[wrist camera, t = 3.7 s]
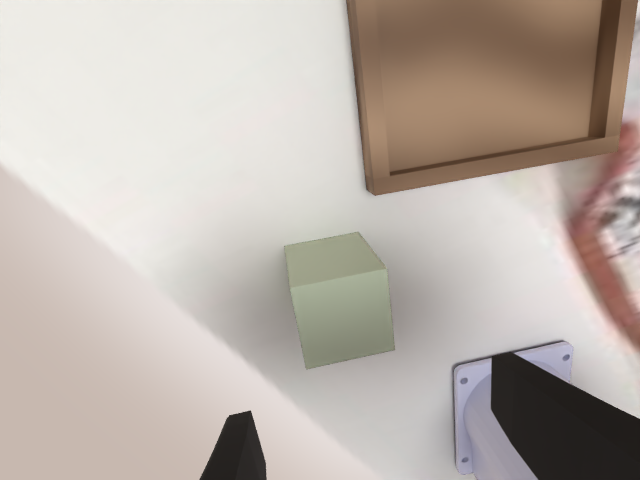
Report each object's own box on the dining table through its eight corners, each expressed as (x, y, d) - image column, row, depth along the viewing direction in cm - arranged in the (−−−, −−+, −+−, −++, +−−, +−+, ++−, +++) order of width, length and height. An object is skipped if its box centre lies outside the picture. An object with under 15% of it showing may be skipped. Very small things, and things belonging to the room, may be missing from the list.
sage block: (365, 296, 20) (394, 349, 16) (297, 311, 20) (306, 369, 15) (358, 231, 19) (386, 268, 14) (284, 245, 19) (289, 288, 14)
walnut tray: (592, 149, 19) (617, 151, 18) (366, 189, 18) (374, 195, 17) (622, -125, 15) (657, -149, 14) (336, -92, 14) (343, -114, 13)
